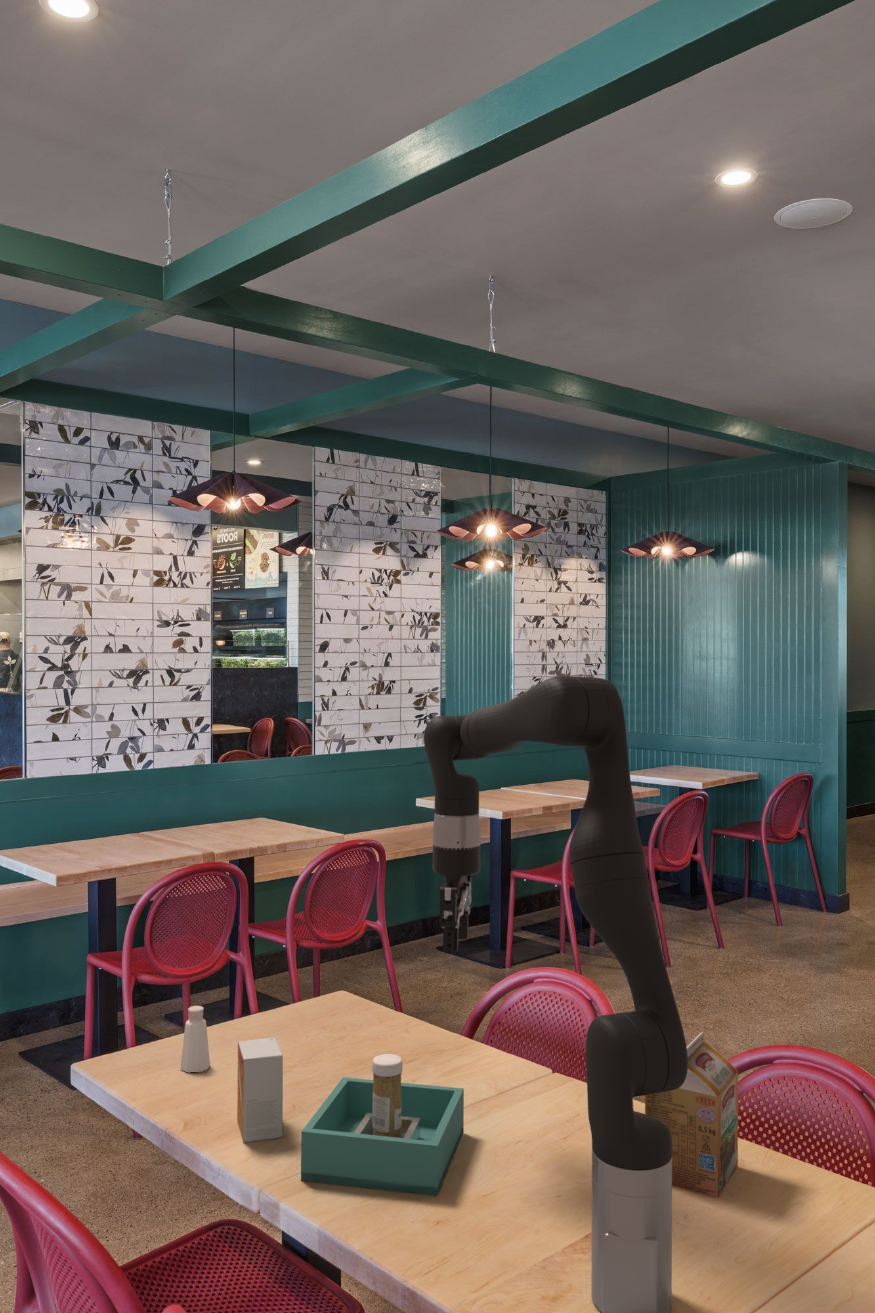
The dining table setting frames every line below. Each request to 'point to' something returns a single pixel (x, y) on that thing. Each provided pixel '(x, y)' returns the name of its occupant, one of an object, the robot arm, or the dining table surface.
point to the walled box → (383, 1140)
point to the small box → (260, 1089)
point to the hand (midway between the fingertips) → (456, 945)
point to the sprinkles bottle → (387, 1095)
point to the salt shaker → (195, 1042)
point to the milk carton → (701, 1121)
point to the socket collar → (408, 1127)
